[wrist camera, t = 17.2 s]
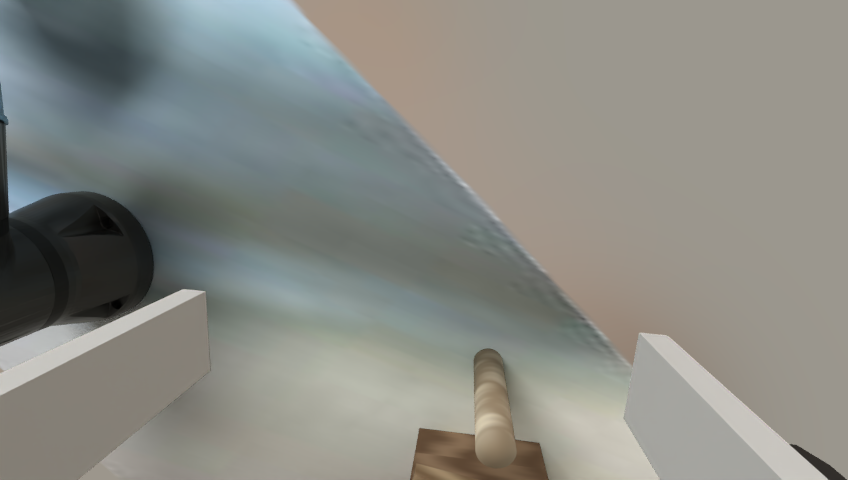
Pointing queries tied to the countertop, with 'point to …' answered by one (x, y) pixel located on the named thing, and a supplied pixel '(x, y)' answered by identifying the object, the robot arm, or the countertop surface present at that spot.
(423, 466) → the toolbox lid
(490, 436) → the pin
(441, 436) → the toolbox
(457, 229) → the countertop surface
